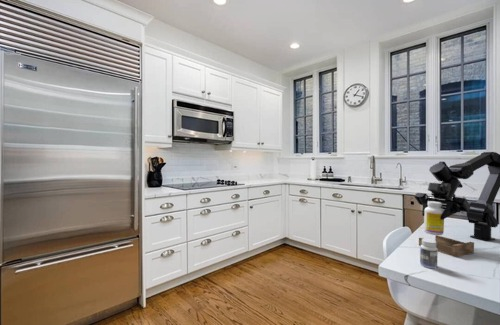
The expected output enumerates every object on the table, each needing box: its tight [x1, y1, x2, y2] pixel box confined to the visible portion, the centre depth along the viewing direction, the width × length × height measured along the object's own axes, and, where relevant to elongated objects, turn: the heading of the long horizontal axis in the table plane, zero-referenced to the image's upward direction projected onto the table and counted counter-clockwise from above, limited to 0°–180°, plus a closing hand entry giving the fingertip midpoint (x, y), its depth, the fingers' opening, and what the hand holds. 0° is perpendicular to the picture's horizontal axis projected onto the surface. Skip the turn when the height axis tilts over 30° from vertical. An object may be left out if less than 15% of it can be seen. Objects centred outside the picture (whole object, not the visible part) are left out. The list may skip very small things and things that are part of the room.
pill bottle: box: [419, 238, 439, 269], centre depth 85 cm, size 5×5×8 cm
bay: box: [418, 235, 475, 258], centre depth 101 cm, size 11×14×4 cm
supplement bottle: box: [423, 201, 445, 236], centre depth 105 cm, size 7×7×13 cm
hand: (431, 217), depth 105 cm, fingers closed on supplement bottle, 7 cm apart
